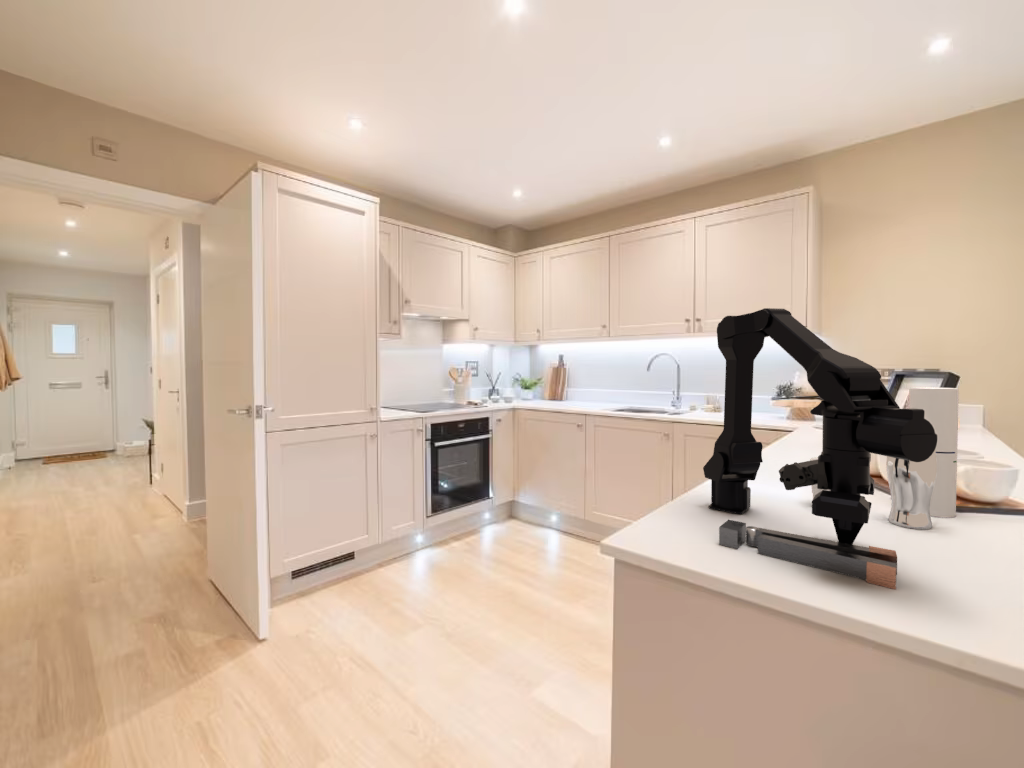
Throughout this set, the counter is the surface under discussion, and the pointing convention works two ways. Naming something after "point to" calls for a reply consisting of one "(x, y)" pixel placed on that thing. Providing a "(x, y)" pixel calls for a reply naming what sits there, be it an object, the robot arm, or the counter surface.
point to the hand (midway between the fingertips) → (844, 549)
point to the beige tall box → (941, 443)
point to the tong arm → (822, 544)
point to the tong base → (813, 555)
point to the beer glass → (911, 491)
